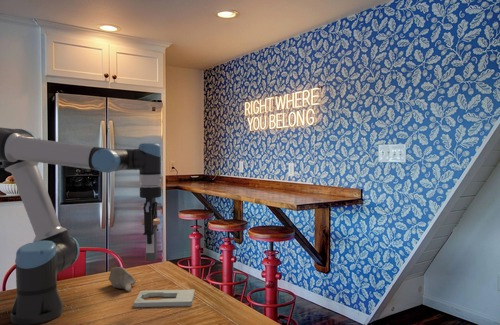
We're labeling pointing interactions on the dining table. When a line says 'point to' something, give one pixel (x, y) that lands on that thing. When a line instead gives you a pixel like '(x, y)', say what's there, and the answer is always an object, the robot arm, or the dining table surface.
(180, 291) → the keyhole board
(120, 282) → the decorative stone
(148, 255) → the peg
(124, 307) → the dining table surface
